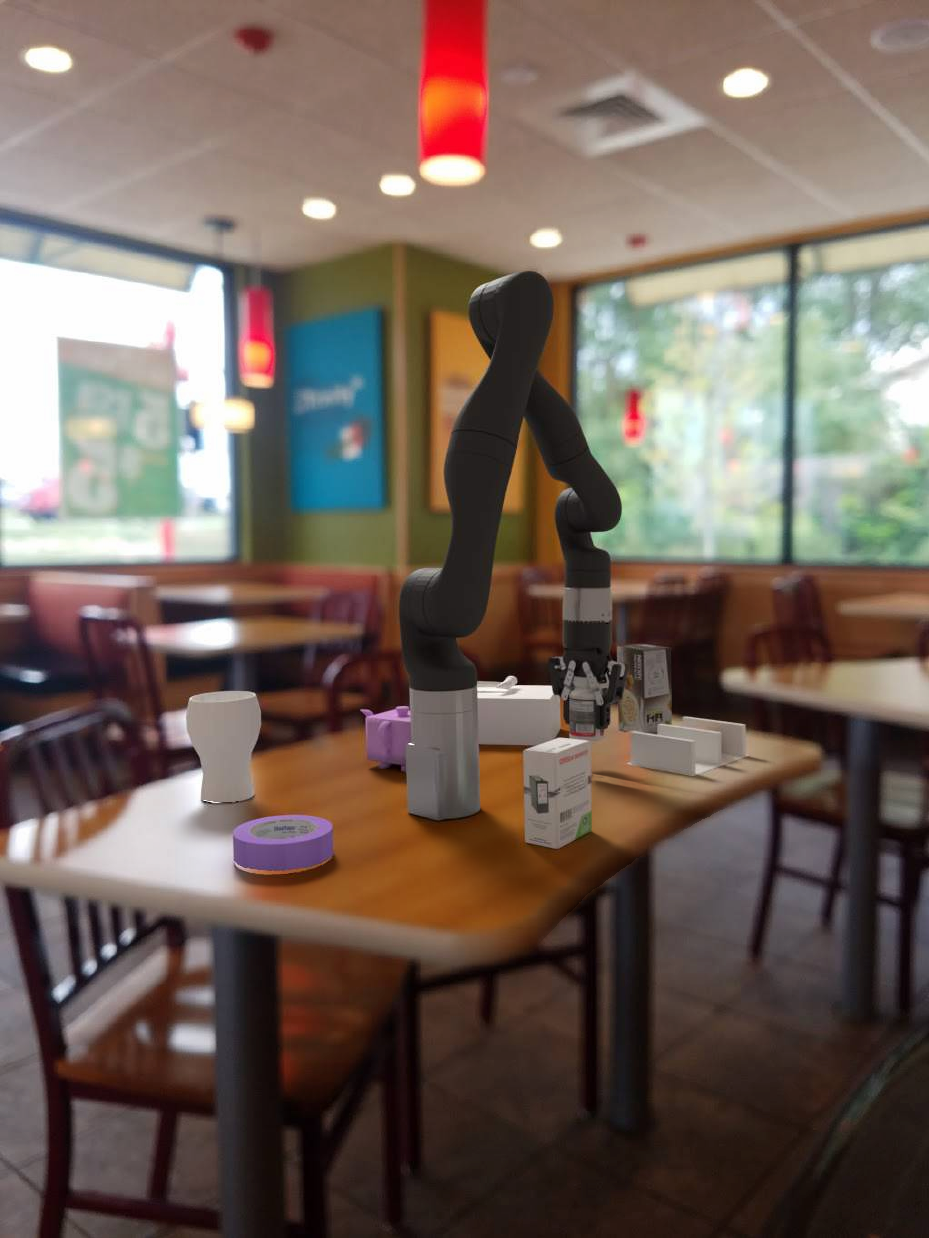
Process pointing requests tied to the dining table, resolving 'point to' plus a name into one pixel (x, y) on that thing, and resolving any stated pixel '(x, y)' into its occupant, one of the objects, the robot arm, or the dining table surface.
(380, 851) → the dining table surface
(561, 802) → the ink box
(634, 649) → the coffee box
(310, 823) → the masking tape
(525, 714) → the tissue box
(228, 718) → the cup
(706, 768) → the rack
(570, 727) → the pill bottle
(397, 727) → the teapot
